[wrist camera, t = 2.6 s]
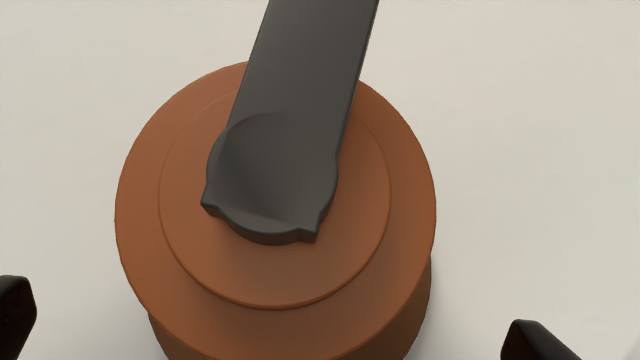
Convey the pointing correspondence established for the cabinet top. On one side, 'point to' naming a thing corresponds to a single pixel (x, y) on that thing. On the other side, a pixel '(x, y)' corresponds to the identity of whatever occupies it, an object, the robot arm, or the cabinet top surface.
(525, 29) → the cabinet top surface
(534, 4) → the cabinet top surface
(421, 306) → the coaster
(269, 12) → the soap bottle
